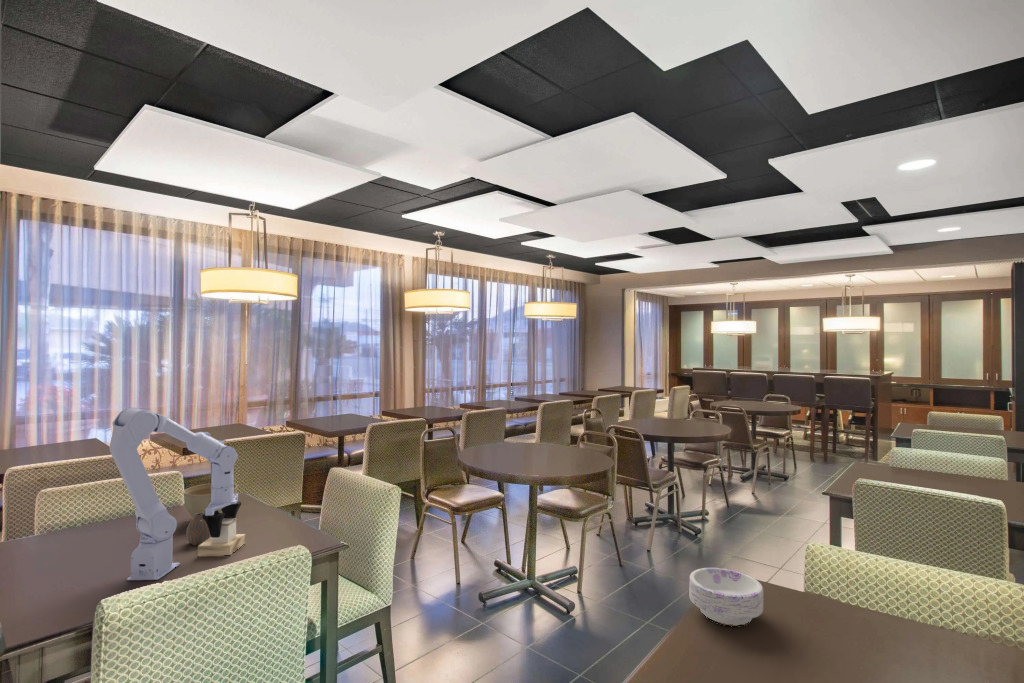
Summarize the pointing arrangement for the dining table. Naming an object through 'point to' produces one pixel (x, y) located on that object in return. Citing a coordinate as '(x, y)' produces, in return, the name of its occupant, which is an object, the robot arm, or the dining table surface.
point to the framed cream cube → (227, 531)
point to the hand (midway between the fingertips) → (222, 532)
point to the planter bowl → (199, 498)
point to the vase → (197, 530)
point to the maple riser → (221, 546)
